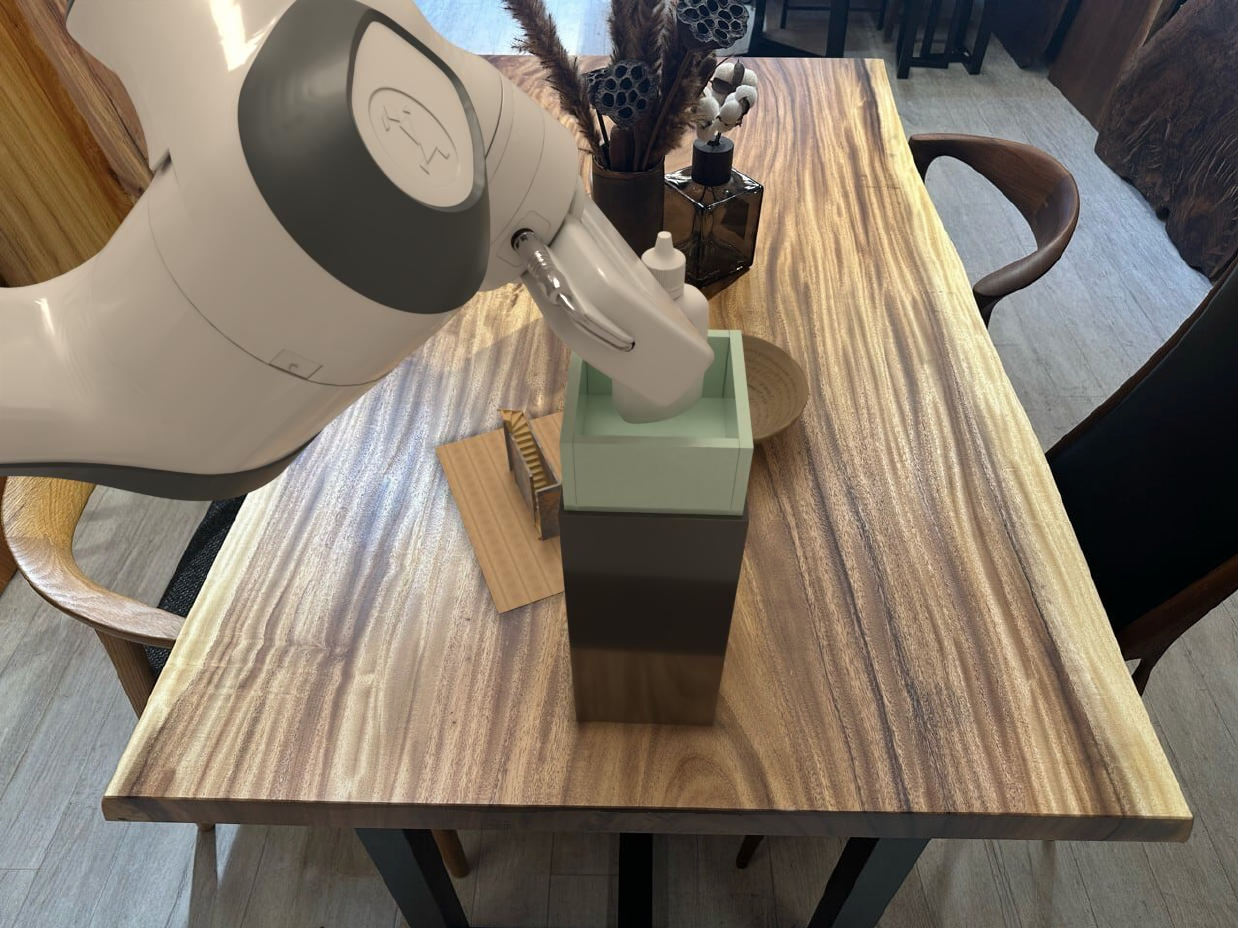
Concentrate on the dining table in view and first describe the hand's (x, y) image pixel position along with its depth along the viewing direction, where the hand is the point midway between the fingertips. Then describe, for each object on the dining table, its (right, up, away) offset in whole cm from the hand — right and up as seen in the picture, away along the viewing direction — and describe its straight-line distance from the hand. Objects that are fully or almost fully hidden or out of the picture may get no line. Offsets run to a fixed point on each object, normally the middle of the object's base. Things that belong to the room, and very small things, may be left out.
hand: (669, 316), depth 47 cm
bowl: (+9, -5, +50) cm, 51 cm away
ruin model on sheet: (-12, -13, +42) cm, 45 cm away
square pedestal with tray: (0, -27, +28) cm, 39 cm away
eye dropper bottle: (0, -5, +5) cm, 7 cm away
